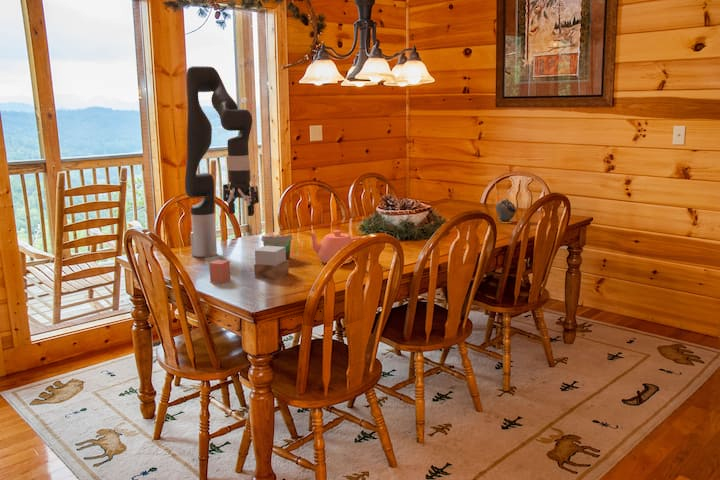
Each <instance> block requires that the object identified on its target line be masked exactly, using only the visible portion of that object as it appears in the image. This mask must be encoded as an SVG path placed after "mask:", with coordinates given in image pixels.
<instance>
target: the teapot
mask: <svg viewBox="0 0 720 480" xmlns="http://www.w3.org/2000/svg"><path fill="white" fill-rule="evenodd" d="M306 232H307V233H308V234H309V235H310V236H311V240H312V249H313V251H314V252H315V253H316V254H317V257H318V259H319V260H320V261H321V263H323V264H326V263H327V262H328V261H329V260H330V259H331V258H332V257H333V256H334V255H335V254H336V253H337V252H338V251H339V250H341V249H342V248H343V247H345V246H346V245H348V244H349V243H351V242H354V241H358V240H357V239H359V238H361V237H362V236H355V237H351V236H350V235H349V234H348V233H342V230H339V229H337V230H336V229H335V230H333V231H332V232H333V233H332V232H331V233H328V234H327V233H326V235H324V237H323V239H322V241H321V242H320V244H319V243H318V240H317V236H316V234H315V233H314V232H312V231H309V230H307V231H306ZM352 260H353V259H352V258H350V259H349V260H348V261H352ZM348 261H347V262H348Z"/></svg>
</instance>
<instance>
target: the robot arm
mask: <svg viewBox="0 0 720 480" xmlns="http://www.w3.org/2000/svg"><path fill="white" fill-rule="evenodd" d="M185 78H186V79H185V80H186V81H185V82H186V96H187V97H186V98H187V122H186V123H187V125H186V167H185V169H186V170H185V176H184V179H185V180H184V190H185V194H186V195H187V197H189V198H201V197H202V199H201V201H199V202H198V203H196V204H193V205H192V206H191V207H190V217H191V218H190V219H191V232H189V233H190V234H189V237H190V247H191V249H190V250H191V256H193V257H198V258H208V257H209V258H210V257H213V256H216V255H217V254H218V251H217V250H218V249H217V248H218V247H217V232H216V230H217V229H216V218H215V217H216V216H215V215H216V214H215V180H214V177H213V175H212V174H211V173H209V172H200V173H197V171H198V167H199V165H200V162H201V161H202V159H203V158H204V157H205V155H206V154H207V152H208V151H209V150H210V147H211V145H212V135H213V132H212V131H213V126H212V123H211V122H210V121H211V120H209V118H208V117H207V114H206V113H205V111H204V110H203V109H202V107H201V103H200V100H199V93H210V92H212V95H211V100H210V101H211V106H212V107H213V108H214V110H215V111H216V112H217V114H218V116H219V119H220V120H219V121H220V124H221V127H222V128H223V129H224V130H226V131H231V132H234V131H235V132H236V131H239V133H238V134H237V136H235V137H231V138H229V139H228V140H227V142H226V145H227V173H228V182H229V183H226V184H223V185H222V201H223V202H226V203H227V205H228V213H229V214H230V215H234V214H235V213H236V204H235V201H236V199H237V198H239V199H243V201H245V202H246V204H247V216H248V217H253V216H254V214H255V205H256V204H259V203H260V198H259V189H258V185H253V186H251V185H250V184H251V183H250V182H251V162H250V155H249V154H250V153H249V141H250V135H251V132H252V131H251V130H252V128H253V127H252V126H253V116H252V114H251V112H250V111H249V110H248V109H243V108H242V109H239V107H238V104H237V102H236V101H235V100H234V99H233V98H232V96H231V95H230V94H229V93H228V91H227V89H226V87H225V84H224V82H223V81H222V79H221V76H220V74H219V72H218V71H217V69H215V68H214V67H212V66H204V65H203V66H201V65H198V66H196V65H195V66H194V65H193V66H189V67H188V68H187V70H186V77H185Z"/></svg>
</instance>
